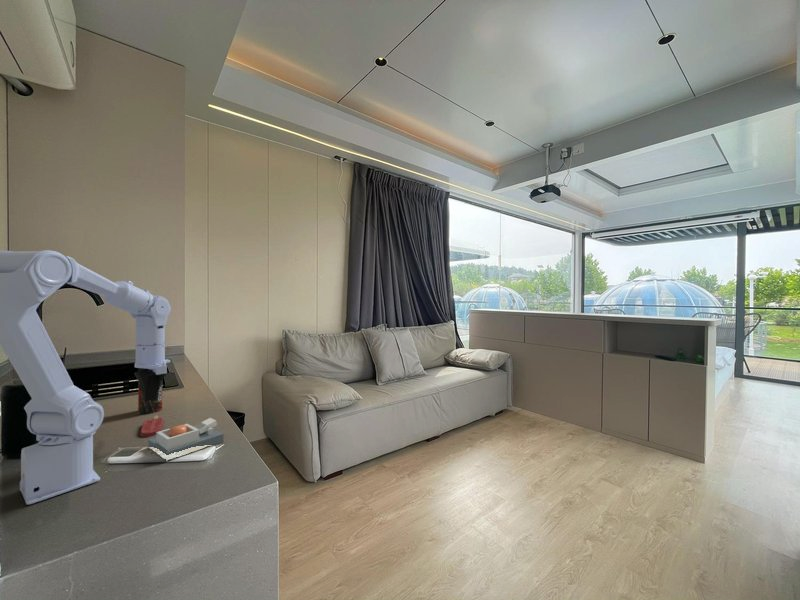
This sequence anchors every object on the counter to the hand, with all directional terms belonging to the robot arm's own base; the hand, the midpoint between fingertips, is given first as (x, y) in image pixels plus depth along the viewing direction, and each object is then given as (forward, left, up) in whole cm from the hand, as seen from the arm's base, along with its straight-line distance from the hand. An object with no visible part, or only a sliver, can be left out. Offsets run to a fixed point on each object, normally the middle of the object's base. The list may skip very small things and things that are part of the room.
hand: (150, 399), depth 81 cm
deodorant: (+8, +26, -11) cm, 29 cm away
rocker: (+8, -10, -7) cm, 15 cm away
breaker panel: (+5, -9, -10) cm, 15 cm away
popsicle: (+4, +11, -11) cm, 16 cm away
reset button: (+2, -11, -8) cm, 13 cm away
